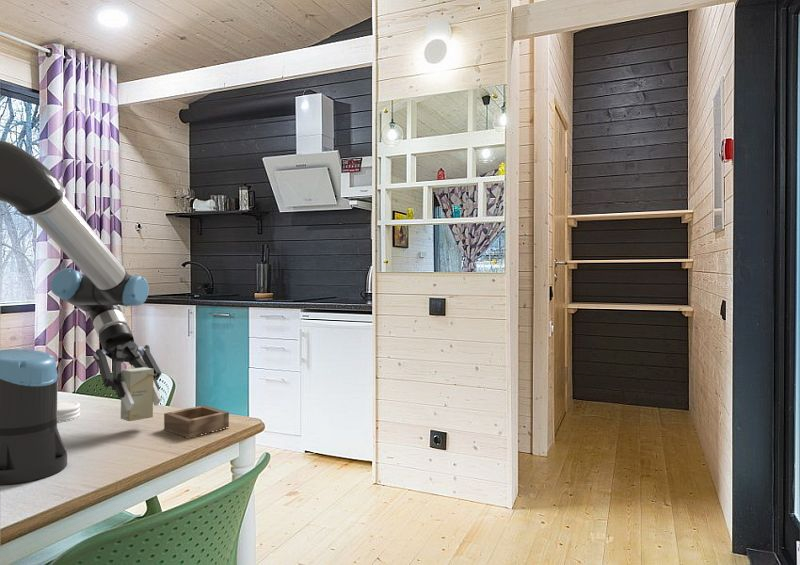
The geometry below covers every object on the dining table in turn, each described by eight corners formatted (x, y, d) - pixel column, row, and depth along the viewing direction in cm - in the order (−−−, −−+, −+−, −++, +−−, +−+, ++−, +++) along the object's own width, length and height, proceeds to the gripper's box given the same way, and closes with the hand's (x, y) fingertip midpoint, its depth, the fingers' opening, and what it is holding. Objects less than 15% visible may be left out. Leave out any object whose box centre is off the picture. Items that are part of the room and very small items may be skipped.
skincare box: (129, 422, 137) (129, 371, 136) (119, 419, 139) (120, 369, 139) (154, 417, 142) (154, 368, 142) (144, 414, 144) (145, 366, 144)
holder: (188, 438, 135) (188, 421, 134) (164, 429, 141) (164, 413, 141) (228, 428, 143) (228, 412, 143) (203, 420, 150) (203, 405, 150)
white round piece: (65, 424, 145) (65, 410, 145) (27, 423, 146) (26, 409, 146) (87, 414, 155) (87, 401, 155) (51, 413, 156) (51, 400, 156)
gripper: (144, 338, 157) (175, 407, 147) (69, 344, 142) (98, 421, 132) (154, 320, 154) (187, 389, 144) (79, 324, 139) (109, 401, 129)
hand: (144, 404), depth 138 cm, fingers closed on skincare box, 6 cm apart
